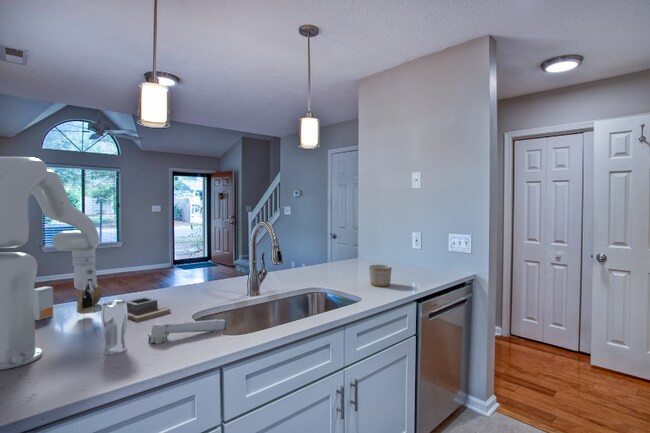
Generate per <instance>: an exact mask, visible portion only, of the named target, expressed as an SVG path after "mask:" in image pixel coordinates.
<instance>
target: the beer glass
mask: <svg viewBox="0 0 650 433" xmlns="http://www.w3.org/2000/svg"><path fill="white" fill-rule="evenodd" d="M126 301H127V300H123V299H119V300H118V299H117V300H110V301H106V302H103V303H102V304H101V313H100V314H101V315H100V316H101V317H100V320H101V327H102V331H103V335H104V341H105V343H104V349H103V354H104V355H110V356H112V355H118V354H121V353H123V352H125V351H126V350H127V349H128V348H127V343H126V331H127V326H128V320H129V319H128V313H127V302H126Z"/></svg>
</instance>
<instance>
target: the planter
mask: <svg viewBox="0 0 650 433" xmlns="http://www.w3.org/2000/svg"><path fill="white" fill-rule="evenodd" d="M392 268H393V267H392V266H391V265H388V264H371V265H369V266H368V269H369V270H368V271H369V272H368V273H369V280H370V281H369V283H370V285H371V286H373V287H377V288H386V287H389V286H390V285H391V276H392V270H393V269H392Z"/></svg>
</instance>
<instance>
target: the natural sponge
mask: <svg viewBox="0 0 650 433" xmlns="http://www.w3.org/2000/svg"><path fill="white" fill-rule="evenodd" d="M103 290H104V289H103V287H102V286H100V285H99V284H97V288H96V289H94V292H93V307H94V306H96V305H97V304H98V303H99V302H100V301H101V299H102V296H103V292H104V291H103Z"/></svg>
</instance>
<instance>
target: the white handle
mask: <svg viewBox="0 0 650 433" xmlns="http://www.w3.org/2000/svg"><path fill="white" fill-rule="evenodd" d="M226 329H227V320H226V319H217V318H215V319H209V320H197V321H186V322H185V321H184V322H176V323H173V322H172V323H164V322H155V323H153V325H152V327H151V330H150V331H149V332H148V333H147V336H148V341H147V342H148V344H149V343H150V344H153V343H154V344H161V343H165V342H167V340H168V336H169V335H170V334H176V333H177V334H178V333H179V334H180V333H182V334H183V333H206V332H214V333H216V332H222V331H226Z"/></svg>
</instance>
